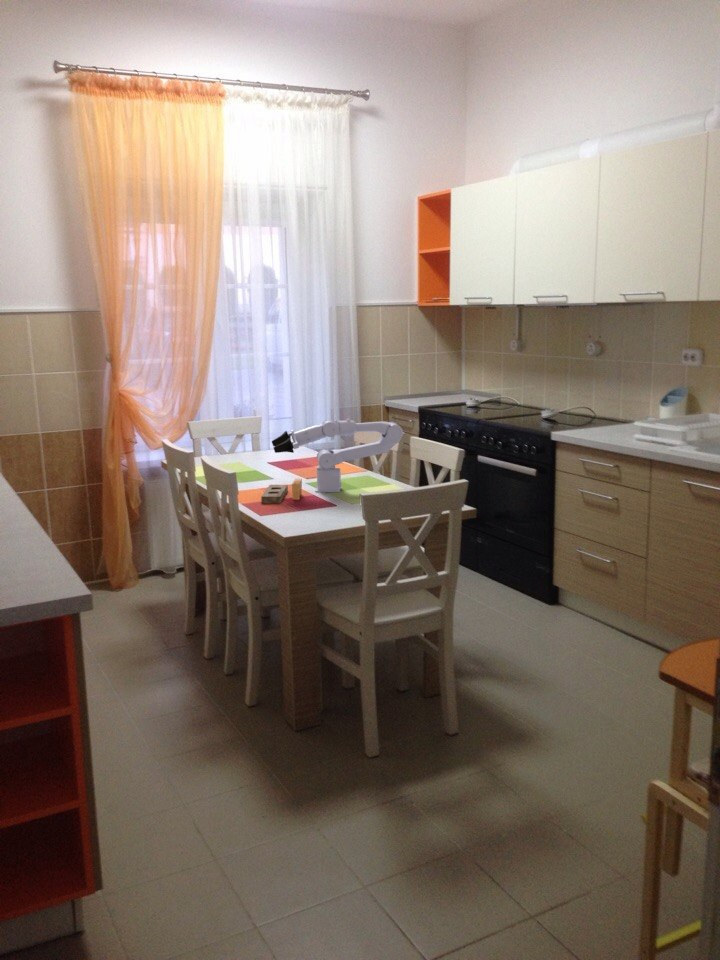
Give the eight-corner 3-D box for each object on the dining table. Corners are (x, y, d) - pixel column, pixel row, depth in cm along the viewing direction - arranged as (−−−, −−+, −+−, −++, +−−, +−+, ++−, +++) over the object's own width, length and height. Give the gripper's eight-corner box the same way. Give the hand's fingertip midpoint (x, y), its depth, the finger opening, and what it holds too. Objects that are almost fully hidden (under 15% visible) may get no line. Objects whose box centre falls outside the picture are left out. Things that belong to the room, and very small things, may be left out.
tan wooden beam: (302, 493, 318) (301, 478, 317) (298, 500, 309) (298, 484, 307) (295, 493, 318) (295, 478, 317) (292, 500, 309) (292, 484, 307)
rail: (287, 490, 324) (287, 484, 323) (280, 503, 304) (280, 496, 303) (269, 490, 324) (269, 484, 323) (261, 503, 304) (261, 496, 304)
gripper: (301, 421, 324) (268, 431, 323) (306, 432, 311) (271, 443, 310) (306, 437, 327) (273, 448, 326) (311, 449, 314) (277, 460, 313)
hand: (273, 446), depth 318 cm, fingers open, 7 cm apart
